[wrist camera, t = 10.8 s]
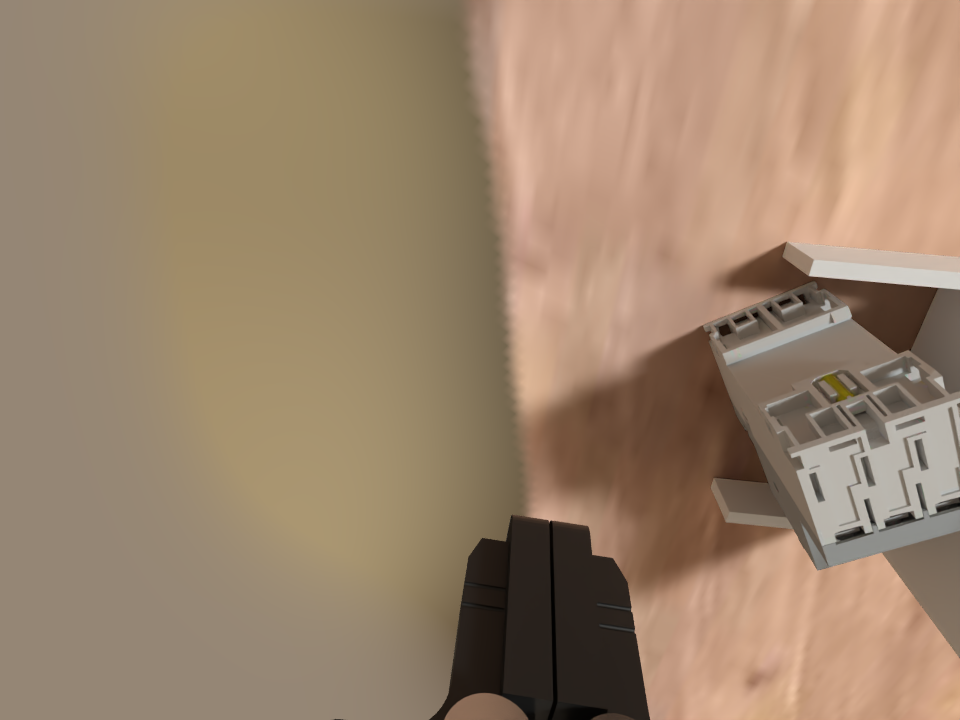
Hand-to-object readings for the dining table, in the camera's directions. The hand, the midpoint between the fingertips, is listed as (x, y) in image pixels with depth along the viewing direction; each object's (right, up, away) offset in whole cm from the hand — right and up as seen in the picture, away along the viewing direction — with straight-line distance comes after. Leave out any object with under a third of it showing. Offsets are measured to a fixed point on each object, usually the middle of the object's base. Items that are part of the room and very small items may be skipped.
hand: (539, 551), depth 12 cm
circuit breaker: (+21, +2, +31) cm, 38 cm away
